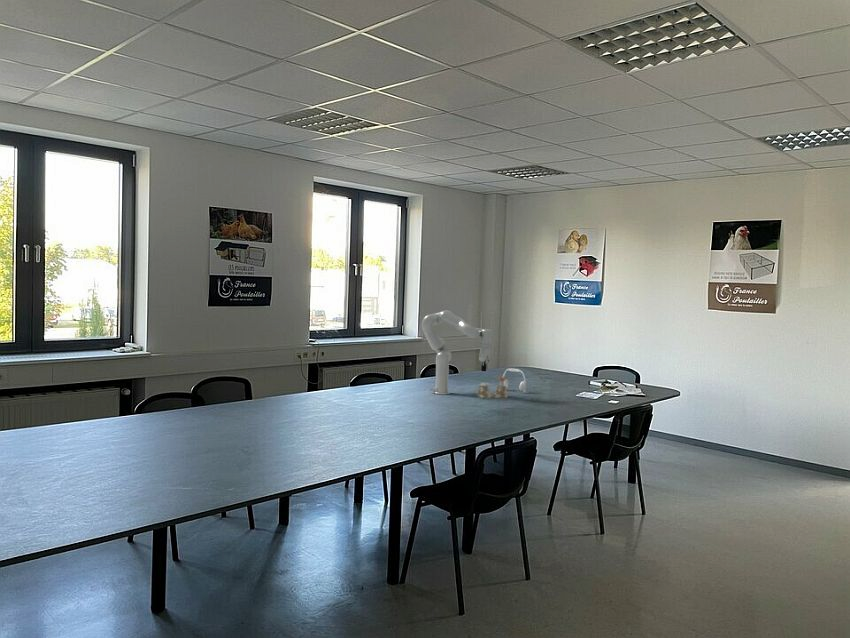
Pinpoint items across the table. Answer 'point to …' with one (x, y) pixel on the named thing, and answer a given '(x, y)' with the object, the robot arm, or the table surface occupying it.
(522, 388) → the headset
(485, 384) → the plug
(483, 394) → the block
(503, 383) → the terracotta plug
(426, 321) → the robot arm
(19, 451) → the table surface
